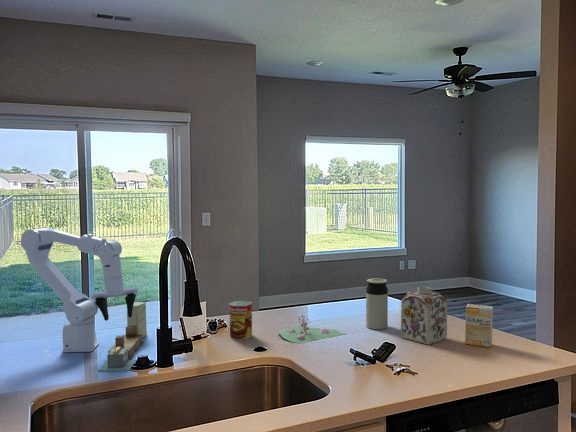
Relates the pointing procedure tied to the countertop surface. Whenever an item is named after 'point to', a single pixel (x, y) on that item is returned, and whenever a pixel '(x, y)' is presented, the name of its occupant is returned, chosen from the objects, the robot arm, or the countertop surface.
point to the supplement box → (479, 325)
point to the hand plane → (129, 341)
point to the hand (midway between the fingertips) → (118, 318)
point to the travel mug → (377, 304)
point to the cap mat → (125, 368)
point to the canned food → (240, 320)
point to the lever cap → (117, 357)
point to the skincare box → (138, 318)
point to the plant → (307, 333)
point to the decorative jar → (424, 316)
